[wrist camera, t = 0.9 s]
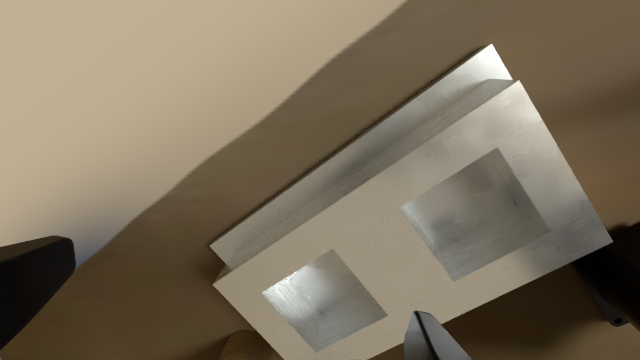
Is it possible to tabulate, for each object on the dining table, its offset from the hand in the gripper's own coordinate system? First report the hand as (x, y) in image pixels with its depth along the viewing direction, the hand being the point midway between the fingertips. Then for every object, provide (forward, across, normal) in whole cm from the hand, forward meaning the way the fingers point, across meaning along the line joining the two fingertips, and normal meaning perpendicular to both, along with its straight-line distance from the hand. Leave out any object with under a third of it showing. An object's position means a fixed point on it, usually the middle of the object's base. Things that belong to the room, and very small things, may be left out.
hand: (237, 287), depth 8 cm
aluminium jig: (+14, -6, +4) cm, 16 cm away
